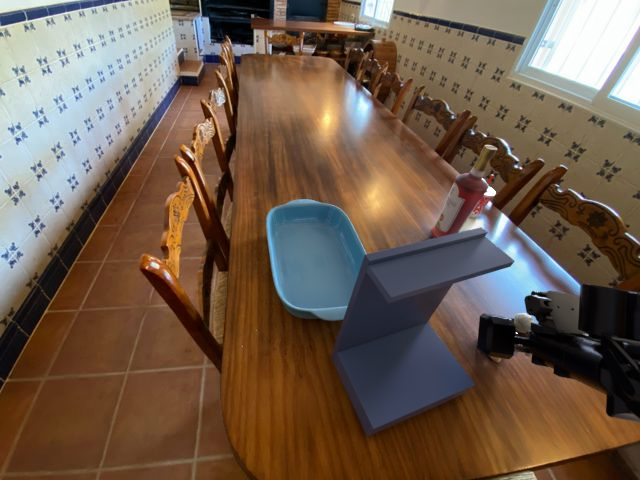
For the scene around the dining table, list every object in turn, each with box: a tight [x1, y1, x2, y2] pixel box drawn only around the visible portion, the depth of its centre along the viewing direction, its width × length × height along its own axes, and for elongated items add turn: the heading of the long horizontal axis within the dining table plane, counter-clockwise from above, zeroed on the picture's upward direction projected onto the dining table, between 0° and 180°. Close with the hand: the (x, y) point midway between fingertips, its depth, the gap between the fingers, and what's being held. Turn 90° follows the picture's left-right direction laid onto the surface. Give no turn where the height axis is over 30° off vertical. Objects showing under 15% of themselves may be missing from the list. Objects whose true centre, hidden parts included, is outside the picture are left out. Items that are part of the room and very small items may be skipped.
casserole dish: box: [265, 198, 368, 322], centre depth 70 cm, size 37×22×7 cm, turn 9°
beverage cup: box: [469, 174, 497, 218], centre depth 90 cm, size 6×6×14 cm
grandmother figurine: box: [489, 312, 536, 363], centre depth 54 cm, size 8×4×13 cm, turn 44°
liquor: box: [430, 144, 498, 238], centre depth 75 cm, size 7×7×28 cm
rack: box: [330, 226, 515, 438], centre depth 45 cm, size 13×20×28 cm, turn 110°
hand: (507, 329), depth 55 cm, fingers open, 6 cm apart
